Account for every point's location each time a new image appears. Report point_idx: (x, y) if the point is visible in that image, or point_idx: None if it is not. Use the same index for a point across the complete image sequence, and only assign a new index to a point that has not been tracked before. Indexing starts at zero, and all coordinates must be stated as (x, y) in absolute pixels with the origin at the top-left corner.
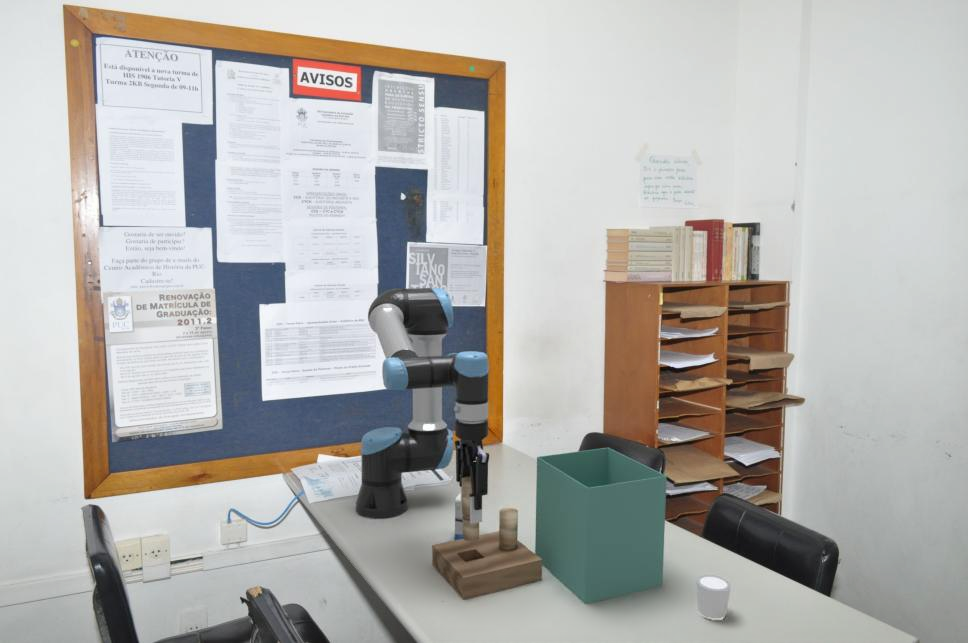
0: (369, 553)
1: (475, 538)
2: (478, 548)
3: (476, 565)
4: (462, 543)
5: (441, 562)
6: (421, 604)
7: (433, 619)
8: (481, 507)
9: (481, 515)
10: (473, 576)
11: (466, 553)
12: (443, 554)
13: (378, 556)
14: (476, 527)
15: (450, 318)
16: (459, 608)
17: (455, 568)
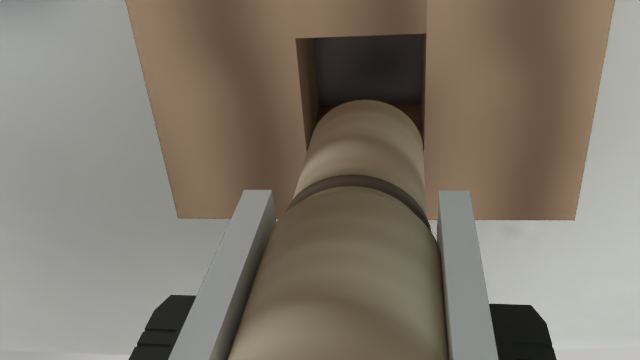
0: (62, 318)
1: (422, 152)
2: (294, 19)
3: (490, 116)
4: (201, 80)
5: None
6: (491, 295)
7: (608, 296)
8: (543, 327)
9: (474, 231)
10: (581, 170)
11: (302, 90)
12: None
13: (91, 302)
14: (423, 187)
15: None
16: (600, 200)
17: None
